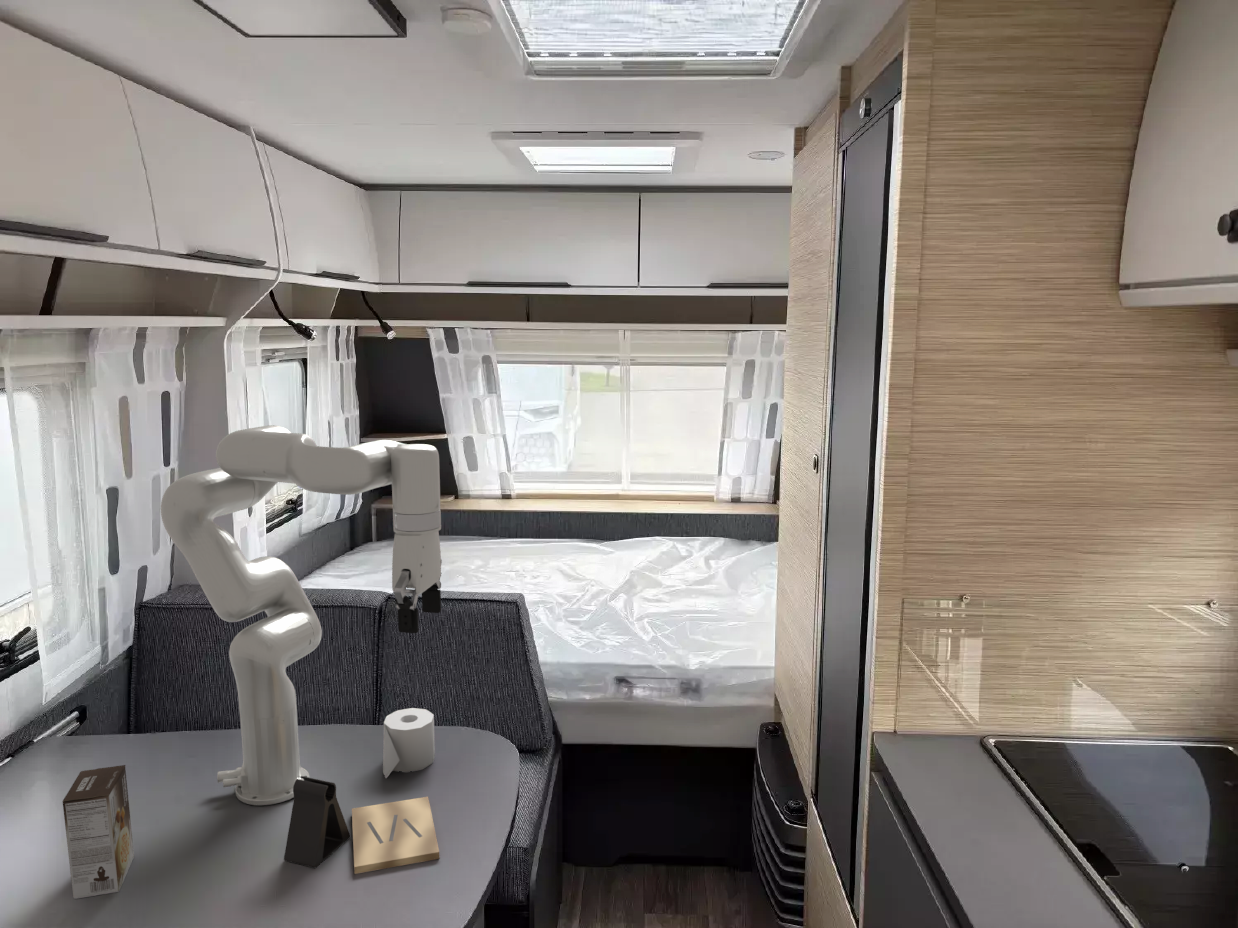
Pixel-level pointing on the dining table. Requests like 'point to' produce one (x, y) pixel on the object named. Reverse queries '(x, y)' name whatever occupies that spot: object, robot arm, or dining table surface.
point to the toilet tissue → (408, 740)
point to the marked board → (393, 835)
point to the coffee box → (98, 831)
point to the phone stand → (314, 823)
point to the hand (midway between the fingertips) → (420, 621)
